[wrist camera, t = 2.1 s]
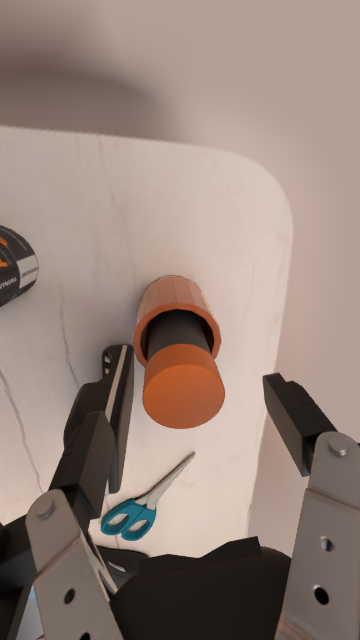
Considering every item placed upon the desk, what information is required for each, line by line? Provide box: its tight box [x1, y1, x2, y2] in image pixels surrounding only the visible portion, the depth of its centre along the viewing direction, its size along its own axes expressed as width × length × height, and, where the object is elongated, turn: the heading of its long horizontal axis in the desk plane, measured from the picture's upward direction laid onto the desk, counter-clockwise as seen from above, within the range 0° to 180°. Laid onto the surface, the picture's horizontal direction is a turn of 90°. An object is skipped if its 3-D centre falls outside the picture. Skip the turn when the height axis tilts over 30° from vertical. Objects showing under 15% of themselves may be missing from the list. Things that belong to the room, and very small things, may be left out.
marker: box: [142, 309, 225, 429], centre depth 18 cm, size 4×4×12 cm
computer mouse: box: [97, 547, 149, 589], centre depth 41 cm, size 12×17×4 cm
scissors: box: [101, 452, 196, 541], centre depth 35 cm, size 7×1×20 cm
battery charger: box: [63, 345, 134, 495], centre depth 22 cm, size 7×4×11 cm, turn 175°
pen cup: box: [133, 276, 221, 368], centre depth 21 cm, size 6×6×7 cm
